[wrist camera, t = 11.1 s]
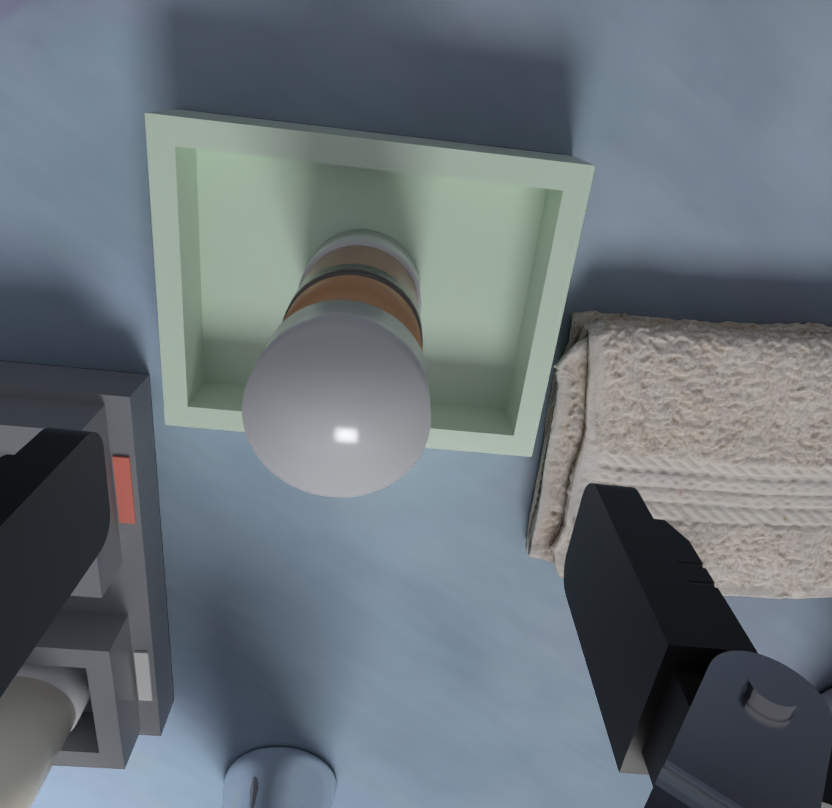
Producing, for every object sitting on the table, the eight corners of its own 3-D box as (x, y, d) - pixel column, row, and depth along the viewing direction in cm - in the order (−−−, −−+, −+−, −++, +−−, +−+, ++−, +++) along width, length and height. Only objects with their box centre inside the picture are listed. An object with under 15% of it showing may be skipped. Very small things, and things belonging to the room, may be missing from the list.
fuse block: (149, 374, 25) (106, 423, 21) (174, 700, 33) (145, 776, 29) (-96, 351, 24) (-182, 398, 21) (-11, 689, 32) (-63, 764, 29)
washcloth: (549, 301, 25) (567, 328, 22) (1009, 317, 25) (1084, 346, 22) (514, 552, 30) (526, 600, 27) (896, 560, 30) (946, 608, 28)
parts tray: (572, 155, 22) (595, 165, 19) (518, 419, 26) (531, 457, 24) (176, 109, 21) (144, 112, 18) (189, 390, 25) (165, 425, 23)
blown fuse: (426, 235, 22) (442, 340, 13) (412, 345, 24) (419, 504, 15) (307, 222, 22) (241, 320, 13) (303, 334, 24) (242, 489, 15)
